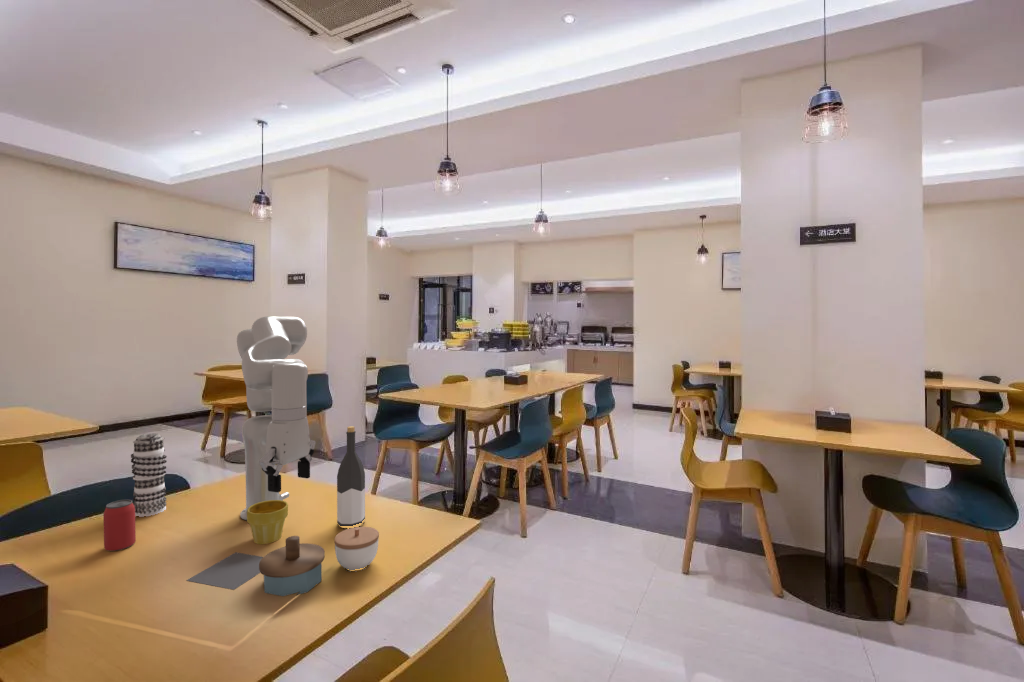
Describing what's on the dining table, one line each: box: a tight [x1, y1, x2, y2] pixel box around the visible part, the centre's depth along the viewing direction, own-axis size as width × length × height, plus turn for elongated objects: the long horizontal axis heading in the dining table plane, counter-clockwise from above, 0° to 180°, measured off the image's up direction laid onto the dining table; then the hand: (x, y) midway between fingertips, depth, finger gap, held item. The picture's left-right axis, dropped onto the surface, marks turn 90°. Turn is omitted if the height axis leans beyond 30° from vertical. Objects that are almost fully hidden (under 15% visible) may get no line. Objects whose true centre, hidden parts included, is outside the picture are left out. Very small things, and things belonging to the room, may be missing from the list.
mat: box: [186, 552, 264, 591], centre depth 114 cm, size 14×14×1 cm
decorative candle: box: [130, 433, 168, 518], centre depth 150 cm, size 9×9×25 cm
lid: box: [259, 535, 326, 578], centre depth 109 cm, size 14×14×6 cm
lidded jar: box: [334, 526, 380, 570], centre depth 117 cm, size 11×11×9 cm
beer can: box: [102, 499, 137, 552], centre depth 126 cm, size 7×7×12 cm
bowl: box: [263, 563, 323, 597], centre depth 109 cm, size 12×12×5 cm
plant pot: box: [246, 500, 289, 545], centre depth 130 cm, size 10×10×10 cm
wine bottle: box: [336, 425, 366, 526], centre depth 141 cm, size 8×8×30 cm
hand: (289, 484), depth 111 cm, fingers open, 9 cm apart
